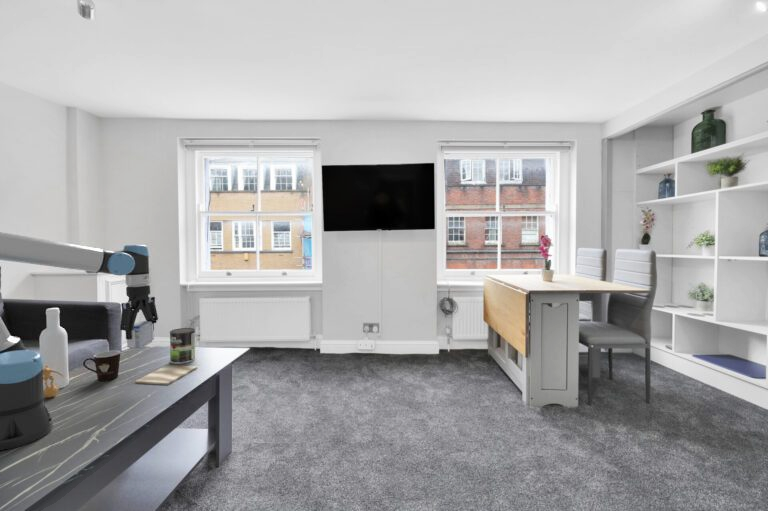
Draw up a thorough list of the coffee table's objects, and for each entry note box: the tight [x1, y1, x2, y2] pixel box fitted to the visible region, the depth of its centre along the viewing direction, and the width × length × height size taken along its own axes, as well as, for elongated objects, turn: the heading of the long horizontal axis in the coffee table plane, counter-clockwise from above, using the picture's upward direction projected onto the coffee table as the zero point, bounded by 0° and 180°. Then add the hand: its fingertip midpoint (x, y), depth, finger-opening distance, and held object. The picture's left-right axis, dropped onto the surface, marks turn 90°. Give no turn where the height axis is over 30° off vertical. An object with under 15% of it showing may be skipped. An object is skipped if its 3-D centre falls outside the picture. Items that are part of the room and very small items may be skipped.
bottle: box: [38, 307, 70, 391], centre depth 136 cm, size 8×8×30 cm
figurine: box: [43, 366, 63, 399], centre depth 126 cm, size 8×6×12 cm
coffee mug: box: [82, 350, 121, 382], centre depth 145 cm, size 12×9×10 cm
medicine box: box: [128, 320, 153, 350], centre depth 138 cm, size 8×4×9 cm, turn 5°
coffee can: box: [169, 327, 196, 365], centre depth 167 cm, size 10×10×14 cm
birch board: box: [134, 364, 198, 386], centre depth 149 cm, size 18×14×1 cm
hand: (141, 343), depth 138 cm, fingers closed on medicine box, 8 cm apart
